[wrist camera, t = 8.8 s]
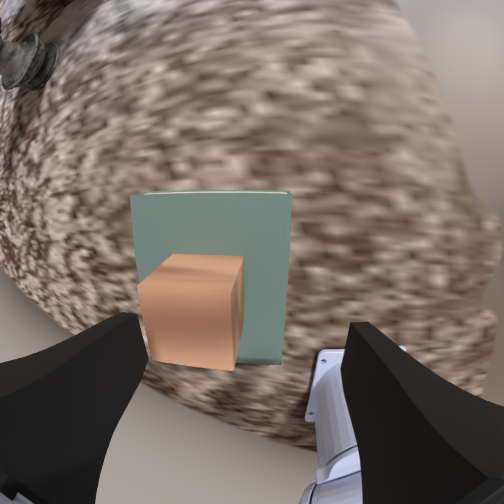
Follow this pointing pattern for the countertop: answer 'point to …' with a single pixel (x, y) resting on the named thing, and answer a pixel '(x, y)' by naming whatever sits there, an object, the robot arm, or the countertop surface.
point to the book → (225, 250)
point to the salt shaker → (27, 62)
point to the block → (195, 310)
